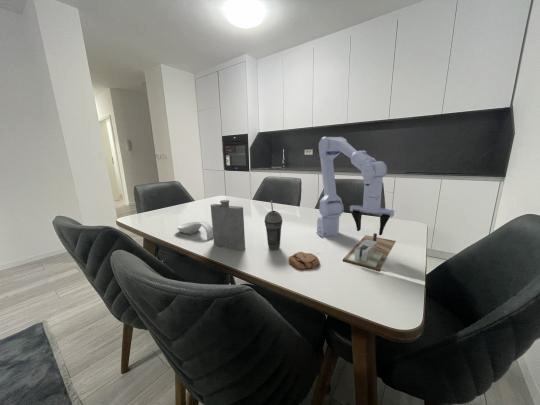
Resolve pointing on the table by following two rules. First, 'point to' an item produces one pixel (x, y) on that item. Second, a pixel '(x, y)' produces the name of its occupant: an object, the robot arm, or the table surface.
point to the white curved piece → (196, 228)
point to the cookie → (304, 261)
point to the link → (365, 250)
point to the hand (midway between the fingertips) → (369, 232)
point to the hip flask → (228, 225)
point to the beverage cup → (273, 228)
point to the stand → (377, 259)
